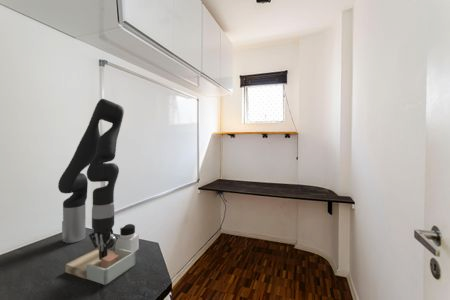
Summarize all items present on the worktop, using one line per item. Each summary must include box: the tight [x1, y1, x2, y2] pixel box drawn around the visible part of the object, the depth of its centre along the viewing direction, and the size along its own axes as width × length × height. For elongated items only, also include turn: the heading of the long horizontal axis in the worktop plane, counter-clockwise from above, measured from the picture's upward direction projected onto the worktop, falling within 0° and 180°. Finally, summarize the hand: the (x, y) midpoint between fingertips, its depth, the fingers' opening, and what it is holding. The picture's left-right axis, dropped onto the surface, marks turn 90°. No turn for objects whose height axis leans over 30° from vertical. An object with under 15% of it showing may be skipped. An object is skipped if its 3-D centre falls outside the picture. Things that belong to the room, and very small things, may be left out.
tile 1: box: [101, 253, 116, 268], centre depth 81 cm, size 4×4×2 cm
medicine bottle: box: [115, 223, 140, 253], centre depth 94 cm, size 7×7×12 cm
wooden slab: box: [64, 248, 116, 280], centre depth 83 cm, size 11×14×3 cm
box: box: [85, 248, 136, 286], centre depth 80 cm, size 9×14×5 cm
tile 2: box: [105, 255, 119, 269], centre depth 80 cm, size 4×4×2 cm
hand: (103, 259), depth 81 cm, fingers closed
